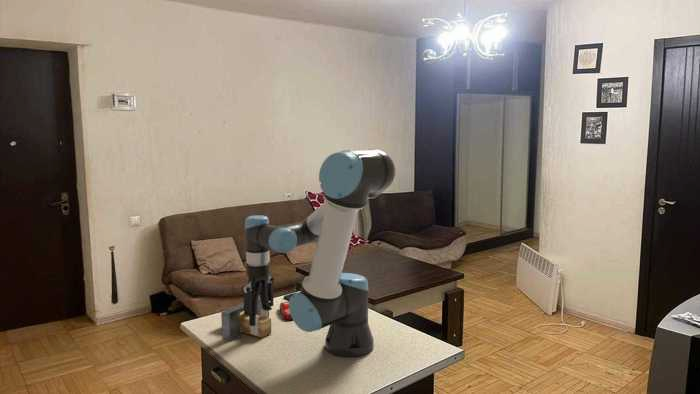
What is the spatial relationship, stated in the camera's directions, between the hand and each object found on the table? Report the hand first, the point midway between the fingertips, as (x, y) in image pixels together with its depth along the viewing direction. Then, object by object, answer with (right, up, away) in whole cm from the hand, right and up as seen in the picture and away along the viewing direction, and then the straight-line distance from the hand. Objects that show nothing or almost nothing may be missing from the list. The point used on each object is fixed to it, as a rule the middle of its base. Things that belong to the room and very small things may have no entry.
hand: (259, 331), depth 172 cm
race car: (+7, +1, +18) cm, 20 cm away
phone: (+11, +3, +33) cm, 35 cm away
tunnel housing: (-5, -1, +3) cm, 6 cm away
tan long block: (-5, 0, +3) cm, 6 cm away
